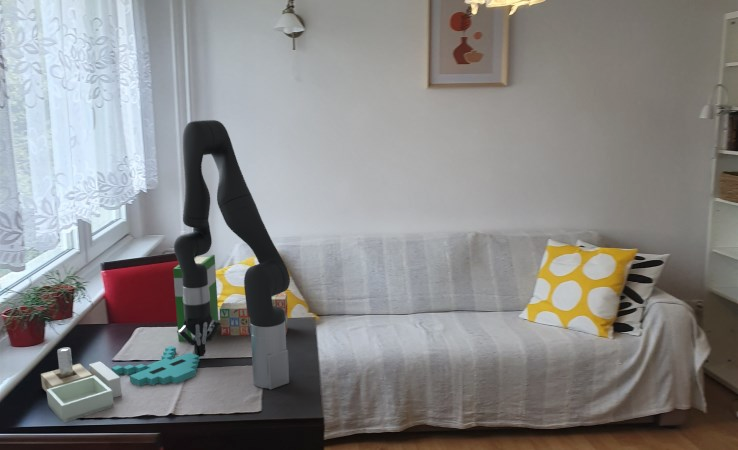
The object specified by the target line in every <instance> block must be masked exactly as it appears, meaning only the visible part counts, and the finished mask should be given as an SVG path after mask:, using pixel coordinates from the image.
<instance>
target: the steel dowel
mask: <svg viewBox="0 0 738 450" xmlns="http://www.w3.org/2000/svg"><path fill="white" fill-rule="evenodd" d="M56 353H57V360H58V362H57V363H58V369H59V371H60V379H63V378H67V377H70V376H73V367H72V365H73V359H72V348H71V347H61V348H58V349H57V352H56Z"/></svg>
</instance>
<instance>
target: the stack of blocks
mask: <svg viewBox="0 0 738 450" xmlns="http://www.w3.org/2000/svg"><path fill="white" fill-rule="evenodd" d="M272 304H273V306H276V307H280V308H282V309H283V310H284V312H285V332H286V334H287V332H288V329H289V328H288V327H289V323H288V293H280V294H277V295H274V296H272ZM219 319H220V320H219V321H220V322H219V326H220V335H221V336H251V326H250V317H249V314H248V311H247V307H246V302H223V303H222V304H221V305H220V308H219Z"/></svg>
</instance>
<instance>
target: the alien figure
mask: <svg viewBox="0 0 738 450" xmlns="http://www.w3.org/2000/svg"><path fill="white" fill-rule="evenodd" d="M164 350H165V351H163V353H162V354H163V355H161V359H160V360H158V361H155V362H151V363H149V364H146V365H145V364H143V363H140V364H137V365H132V364H127V365H125V366H121V365H119V364H118V365H116V366H113V367H111V368H110V370H112V371H113V372H114V373H115V374H117V375H118V376H120V375H122V374H124V375H127V376H129V382H130V383H132V384H134V385H136V386H138V387H141V386H144V385H147V384H148V385H150V386H155V385H156V384H158V383H159V384H162V385H167V384H169V383H173V384H175V385H176V384H179V383H181V382H183V381H185V380H187V379H190V378H192V377H195V376H196V372H197V371H198V369H197V368H198V367H199V363H200V357H199V356H198V355H196V354H195V353H192V352H187V353H185V354H183V355H180V356H177V357H175V354H177V348H176V347H175V346H172V345H169V346H168V347H165V348H164Z"/></svg>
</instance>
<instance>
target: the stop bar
mask: <svg viewBox="0 0 738 450" xmlns="http://www.w3.org/2000/svg"><path fill="white" fill-rule="evenodd" d="M88 367H89V372H90V373H91V374H92V376H96V377H97V378H98V379H99V380H101V381H102V382H103V383H104V384H105V385H106V386H108V387H109V388H110V389H111V390H112V394H113V399H114V398H117V397H120V396H122V394H123V393H122V384H121V376H120V375H117V374H115V373H114V372H113V371H112V370H111V368H109V367H108V366H107V365H105V364H104V363H103V362H101V361H95V362H93V363H89V365H88Z"/></svg>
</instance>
